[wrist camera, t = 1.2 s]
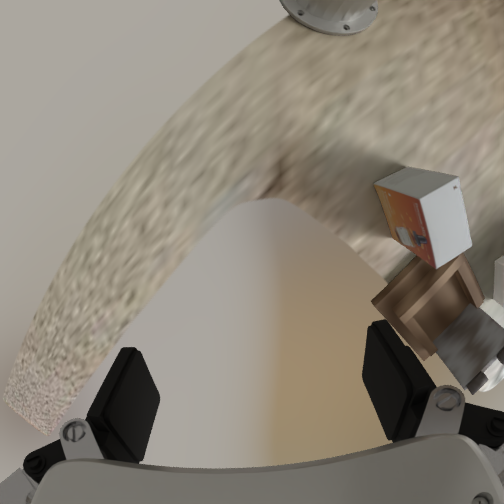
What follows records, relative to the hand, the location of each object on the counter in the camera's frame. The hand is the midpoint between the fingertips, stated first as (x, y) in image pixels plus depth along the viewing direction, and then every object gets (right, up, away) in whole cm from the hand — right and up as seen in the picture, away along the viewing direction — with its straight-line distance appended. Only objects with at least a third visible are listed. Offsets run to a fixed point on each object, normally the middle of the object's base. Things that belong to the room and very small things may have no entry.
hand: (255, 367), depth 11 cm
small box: (+18, +11, +22) cm, 31 cm away
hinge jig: (+27, -2, +27) cm, 38 cm away
